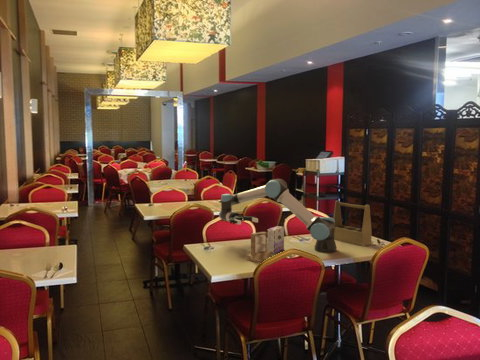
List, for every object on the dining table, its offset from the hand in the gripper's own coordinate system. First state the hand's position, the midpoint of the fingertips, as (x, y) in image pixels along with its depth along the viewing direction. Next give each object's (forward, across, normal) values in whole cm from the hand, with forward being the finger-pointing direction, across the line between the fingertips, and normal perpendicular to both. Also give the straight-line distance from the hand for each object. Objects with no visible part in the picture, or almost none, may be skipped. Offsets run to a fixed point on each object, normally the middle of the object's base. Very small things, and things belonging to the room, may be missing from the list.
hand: (249, 221), depth 301 cm
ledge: (+15, +2, -22) cm, 27 cm away
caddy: (+9, -85, -23) cm, 88 cm away
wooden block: (+14, +2, -19) cm, 24 cm away
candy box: (+4, -19, -22) cm, 29 cm away
